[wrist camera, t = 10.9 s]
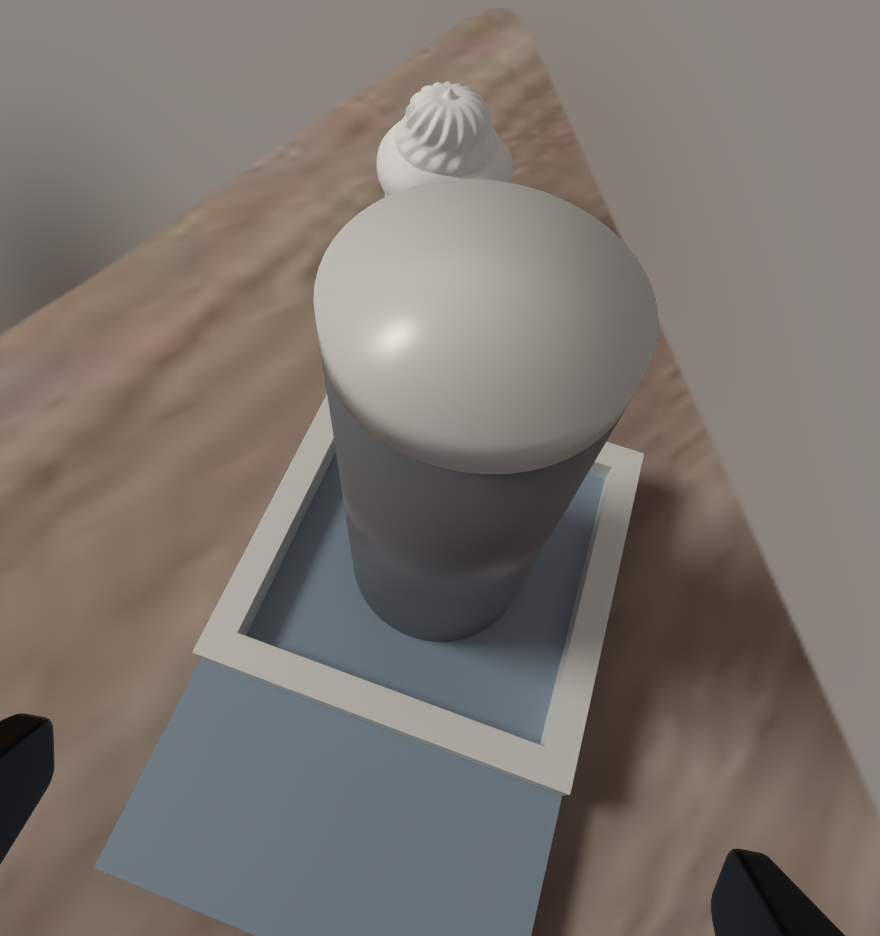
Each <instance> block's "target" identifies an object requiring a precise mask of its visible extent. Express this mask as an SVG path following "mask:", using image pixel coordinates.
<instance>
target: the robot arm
mask: <svg viewBox="0 0 880 936" xmlns="http://www.w3.org/2000/svg"><path fill="white" fill-rule="evenodd" d="M53 772H54V737H53V724H52V722H51V721H50V719H47V718H45V717H40V716H35V715H30V714H16V715H13V716H10V717H8V718H6V719H4V720H1V721H0V864H1V863H2V861H3V859H4V858H5V856H6V854H7V853H8V851H9V850H10V848H11V846H12V845H13V843H14V842H15V840H16V838H17V837H18V835H19V833H20V832H21V830H22V829H23V827H24V825H25V824H26V822H27V820H28V819H29V817H30V816H31V814H32V812H33V811H34V809H35V807H36V806H37V804H38V803H39V801H40V799H41V798H42V796H43V794H44V793H45V791H46V790H47V788H48V786H49V784H50V782H51V779H52V776H53ZM711 914H712V920H713V926H714V931H715V936H845V935H844V934H843V933H842V932H841V931H840V930H839V929H838V928H837V927H836V926H835V925H834V924H833V923H832V922H831V921H830V920H829V919H828V918H827V917H826V916H825V914H824V913H823V912H822V911H821V910H820V909H819V908H818V907H817V906H816V905H815V904H814V903H813V902H812V901H811V900H810V899H809V898H808V897H807V896H806V895H805V894H804V893H803V892H802V891H801V890H800V889H799V888H798V887H797V886H796V885H795V884H794V883H793V882H792V881H791V879H790V878H789V877H788V876H787V875H786V874H785V873H784V872H783V871H782V870H781V869H780V868H779V867H778V866H777V865H776V864H775V863H774V862H773V861H772V860H771V859H770V858H769V857H767V856H766V855H764V854H762V853H758V852H753V851H748V850H743V849H732V850H731V851H730V852H729V853H728V855H727V857H726V859H725V862H724V865H723V867H722V870H721V872H720V875H719V878H718V880H717V883H716V885H715V888H714V891H713V894H712V899H711Z"/></svg>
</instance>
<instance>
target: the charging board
mask: <svg viewBox="0 0 880 936" xmlns="http://www.w3.org/2000/svg"><path fill="white" fill-rule="evenodd" d="M643 456H644V454H643V453H640V452H637V451H634V450H631V449H628V448H625V447H621V446H618V445H615V444H612V443H609V442H606V443H605V445H604V446H603V448H602V450H601V452H600V453H599V455H598V457H597V458H596V460H595V462H594V464H593V465H592V467H591V469H590V470H589V472H588V474H587V476H586V477H585V479H584V481H583V482H582V484H581V486H580V487H579V489H578V491H577V493H576V494H575V496H574V498H573V499H572V501H571V503H570V505H569V506H568V508H567V510H566V511H565V513H564V515H563V517H562V518H561V520H560V522H559V523H558V525H557V527H556V528H555V530H554V532H553V534H552V535H551V537H550V539H549V540H548V542H547V544H546V546H545V547H544V549H543V551H542V552H541V554H540V556H539V558H538V559H537V561H536V563H535V564H534V566H533V568H532V570H531V571H530V573H529V575H528V576H527V578H526V580H525V581H524V583H523V585H522V587H521V588H520V590H519V592H518V593H517V595H516V597H515V599H514V600H513V602H512V603H511V605H510V606H509V608H508V609H507V611H506V612H505V613H504V614H503V615H502V616H501V617H500V618H499V619H498V620H497V621H496V622H495V623H493V624H492V625H491V626H489V627H488V628H486V629H485V630H483V631H481V632H479V633H477V634H475V635H473V636H470V637H467V638H463V639H460V640H454V641H442V642H436V641H426V640H421V639H417V638H413V637H411V636H408V635H405V634H403V633H401V632H399V631H397V630H395V629H394V628H392V627H391V626H389V625H388V624H386V623H385V622H384V621H382V620H381V619H380V618H379V617H378V616H377V615H376V614H375V613H374V612H373V610H372V609H371V608H370V607H369V605H368V604H367V602H366V601H365V599H364V597H363V596H362V594H361V591H360V589H359V587H358V584H357V581H356V577H355V573H354V566H353V560H352V553H351V547H350V540H349V534H348V527H347V520H346V514H345V507H344V501H343V494H342V488H341V481H340V475H339V468H338V462H337V455H336V449H335V442H334V436H333V429H332V423H331V416H330V410H329V403H328V396H327V395H326V397H325V399H324V401H323V403H322V405H321V407H320V408H319V410H318V412H317V414H316V416H315V418H314V420H313V422H312V424H311V426H310V428H309V430H308V431H307V433H306V435H305V437H304V439H303V441H302V443H301V445H300V447H299V449H298V451H297V453H296V454H295V456H294V458H293V460H292V462H291V464H290V466H289V468H288V470H287V472H286V474H285V476H284V477H283V479H282V481H281V483H280V485H279V487H278V489H277V491H276V493H275V495H274V497H273V499H272V500H271V502H270V504H269V506H268V508H267V510H266V512H265V514H264V516H263V518H262V520H261V522H260V523H259V525H258V527H257V529H256V531H255V533H254V535H253V537H252V539H251V541H250V543H249V545H248V546H247V548H246V550H245V552H244V554H243V556H242V558H241V560H240V562H239V564H238V566H237V568H236V569H235V571H234V573H233V575H232V577H231V579H230V581H229V583H228V585H227V587H226V589H225V591H224V592H223V594H222V596H221V598H220V600H219V602H218V604H217V606H216V608H215V610H214V612H213V614H212V615H211V617H210V619H209V621H208V623H207V625H206V627H205V629H204V631H203V633H202V635H201V637H200V638H199V640H198V642H197V644H196V646H195V648H194V650H193V652H192V653H194V654H195V655H196V656H198V657H199V658H200V659H201V660H200V662H199V664H198V666H197V668H196V670H195V672H194V674H193V676H192V678H191V680H190V682H189V684H188V686H187V688H186V689H185V691H184V693H183V695H182V697H181V699H180V701H179V703H178V705H177V707H176V709H175V711H174V713H173V715H172V717H171V719H170V721H169V723H168V725H167V727H166V728H165V730H164V732H163V734H162V736H161V738H160V740H159V742H158V744H157V746H156V748H155V750H154V752H153V754H152V756H151V758H150V760H149V762H148V764H147V766H146V768H145V769H144V771H143V773H142V775H141V777H140V779H139V781H138V783H137V785H136V787H135V789H134V791H133V793H132V795H131V797H130V799H129V801H128V803H127V805H126V807H125V808H124V810H123V812H122V814H121V816H120V818H119V820H118V822H117V824H116V826H115V828H114V830H113V832H112V834H111V836H110V838H109V840H108V842H107V844H106V846H105V847H104V849H103V851H102V853H101V855H100V857H99V859H98V861H97V863H96V865H95V867H94V868H96V869H98V870H101V871H103V872H105V873H108V874H110V875H112V876H115V877H117V878H119V879H122V880H124V881H127V882H129V883H131V884H134V885H136V886H138V887H141V888H143V889H145V890H148V891H150V892H153V893H155V894H157V895H160V896H162V897H164V898H167V899H169V900H171V901H174V902H176V903H179V904H181V905H183V906H186V907H188V908H190V909H193V910H195V911H197V912H200V913H202V914H205V915H207V916H209V917H212V918H214V919H216V920H219V921H221V922H223V923H226V924H228V925H231V926H233V927H235V928H238V929H240V930H242V931H245V932H247V933H249V934H252V935H254V936H531V934H532V930H533V925H534V921H535V916H536V912H537V907H538V903H539V898H540V894H541V889H542V885H543V880H544V876H545V871H546V867H547V862H548V858H549V853H550V849H551V844H552V840H553V835H554V831H555V826H556V822H557V817H558V813H559V808H560V804H561V799H562V796H564V795H570V793H571V789H572V784H573V780H574V775H575V770H576V766H577V761H578V756H579V752H580V747H581V743H582V738H583V733H584V729H585V724H586V719H587V715H588V710H589V706H590V701H591V696H592V692H593V687H594V683H595V678H596V673H597V669H598V664H599V659H600V655H601V650H602V646H603V641H604V636H605V632H606V627H607V622H608V618H609V613H610V609H611V604H612V599H613V595H614V590H615V586H616V581H617V576H618V572H619V567H620V562H621V558H622V553H623V549H624V544H625V539H626V535H627V530H628V525H629V521H630V516H631V512H632V507H633V502H634V498H635V493H636V488H637V484H638V479H639V475H640V470H641V465H642V461H643Z"/></svg>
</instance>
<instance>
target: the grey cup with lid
mask: <svg viewBox="0 0 880 936" xmlns="http://www.w3.org/2000/svg"><path fill="white" fill-rule="evenodd" d="M314 309H315V318H316V325H317V331H318V338H319V344H320V351H321V357H322V364H323V370H324V377H325V383H326V390H327V396H328V403H329V410H330V416H331V423H332V429H333V436H334V442H335V449H336V455H337V462H338V468H339V475H340V481H341V488H342V494H343V501H344V507H345V514H346V520H347V527H348V534H349V540H350V547H351V553H352V560H353V566H354V573H355V577H356V581H357V584H358V587H359V589H360V591H361V594H362V596H363V597H364V599H365V601H366V602H367V604H368V605H369V607H370V608H371V609H372V610H373V612H374V613H375V614H376V615H377V616H378V617H379V618H380V619H381V620H382V621H384V622H385V623H386V624H388V625H389V626H391V627H392V628H394V629H395V630H397V631H399V632H401V633H403V634H405V635H408V636H411V637H413V638H417V639H421V640H426V641H436V642H442V641H454V640H460V639H463V638H467V637H470V636H473V635H475V634H477V633H479V632H481V631H483V630H485V629H486V628H488V627H489V626H491V625H492V624H493V623H495V622H496V621H497V620H498V619H499V618H500V617H501V616H502V615H503V614H504V613H505V612H506V611H507V609H508V608H509V606H510V605H511V603H512V602H513V600H514V599H515V597H516V595H517V593H518V592H519V590H520V588H521V587H522V585H523V583H524V581H525V580H526V578H527V576H528V575H529V573H530V571H531V570H532V568H533V566H534V564H535V563H536V561H537V559H538V558H539V556H540V554H541V552H542V551H543V549H544V547H545V546H546V544H547V542H548V540H549V539H550V537H551V535H552V534H553V532H554V530H555V528H556V527H557V525H558V523H559V522H560V520H561V518H562V517H563V515H564V513H565V511H566V510H567V508H568V506H569V505H570V503H571V501H572V499H573V498H574V496H575V494H576V493H577V491H578V489H579V487H580V486H581V484H582V482H583V481H584V479H585V477H586V476H587V474H588V472H589V470H590V469H591V467H592V465H593V464H594V462H595V460H596V458H597V457H598V455H599V453H600V452H601V450H602V448H603V446H604V445H605V443H606V441H607V440H608V438H609V436H610V434H611V433H612V431H613V429H614V428H615V426H616V424H617V423H618V421H619V419H620V417H621V416H622V414H623V412H624V411H625V409H626V407H627V405H628V404H629V402H630V400H631V399H632V397H633V395H634V393H635V392H636V390H637V388H638V387H639V385H640V383H641V382H642V380H643V378H644V376H645V375H646V373H647V371H648V368H649V366H650V364H651V362H652V359H653V357H654V353H655V349H656V345H657V341H658V330H659V318H658V308H657V303H656V299H655V295H654V292H653V289H652V286H651V284H650V282H649V279H648V277H647V275H646V272H645V271H644V269H643V268H642V266H641V264H640V263H639V261H638V260H637V258H636V257H635V255H634V254H633V253H632V252H631V250H630V249H629V248H628V247H627V245H626V244H625V243H624V242H623V241H622V240H621V239H620V238H619V237H618V236H617V235H616V234H615V233H614V232H613V231H612V230H611V229H609V228H608V227H607V226H606V225H604V224H603V223H602V222H601V221H599V220H598V219H597V218H595V217H594V216H592V215H590V214H589V213H587V212H586V211H584V210H583V209H581V208H579V207H577V206H575V205H573V204H571V203H569V202H567V201H565V200H564V199H561V198H559V197H556V196H554V195H551V194H549V193H546V192H543V191H540V190H537V189H533V188H530V187H527V186H522V185H517V184H513V183H508V182H501V181H492V180H476V179H462V180H446V181H440V182H433V183H427V184H423V185H419V186H415V187H411V188H408V189H405V190H402V191H400V192H397V193H394V194H392V195H389V196H387V197H385V198H383V199H381V200H379V201H377V202H375V203H374V204H372V205H371V206H369V207H368V208H366V209H365V210H363V211H362V212H360V213H359V214H358V215H356V216H355V217H354V218H353V219H352V220H351V221H349V222H348V223H347V224H346V225H345V226H344V227H343V228H342V230H341V231H340V232H339V233H338V234H337V235H336V236H335V238H334V239H333V241H332V242H331V244H330V246H329V247H328V249H327V250H326V252H325V254H324V256H323V259H322V261H321V263H320V266H319V268H318V273H317V277H316V281H315V288H314Z"/></svg>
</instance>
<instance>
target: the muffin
mask: <svg viewBox="0 0 880 936" xmlns="http://www.w3.org/2000/svg"><path fill="white" fill-rule="evenodd" d="M377 173H378V178H379V182H380V184H381V187H382V189H383V190H384V192H385V194H386V195H385V197H387V196H389V195H392V194H394V193H397V192H400V191H402V190H405V189H408V188H411V187H415V186H419V185H423V184H427V183H433V182H440V181H446V180H462V179H476V180H492V181H501V182H508V183H511V181H512V174H513V163H512V157H511V154H510V152H509V149H508V148H507V146H506V144H505V143H504V142H503V140H502V139H501V138H500V136H499V135H498V134H497V133H496V131H495V129H494V127H493V126H492V125H491V118H490V114H489V109H488V106H487V104H486V102H485V101H484V99H483V98H482V97H481V96H480V95H478V94H477V93H476V92H475V90H473V89H472V88H470V87H464V85H462V84H461V83H456V84H451V83H450V82H448V81H447V82H445V83H444V84H441V83H438V82H436V83H434V84H433V86H425V87H423V88H422V89H421V91H420V92H418V93H416V94H415V95H413V96H412V98H411V100H410V105H409V106H408V107H407V108H406V115H405V116H404V118H403V120H401V121H399V122H398V123H397V124H396V125H394V126H393V127H392V128H391V129H390V130H389V131H388V133H387V134H386V135H385V136H384V138H383V140H382V142H381V144H380V146H379V150H378V154H377Z"/></svg>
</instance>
